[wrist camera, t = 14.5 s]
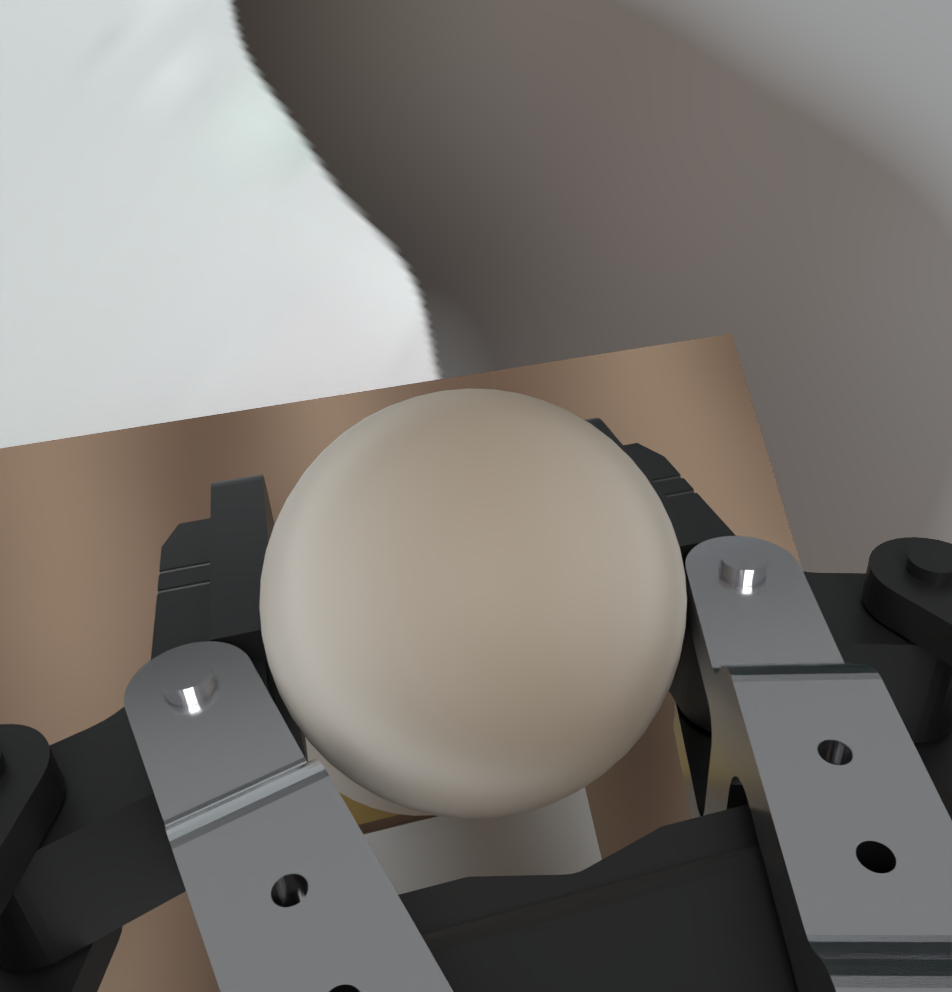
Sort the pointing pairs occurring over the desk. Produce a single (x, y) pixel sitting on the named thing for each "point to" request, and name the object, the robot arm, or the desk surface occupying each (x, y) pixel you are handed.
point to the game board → (282, 460)
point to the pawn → (472, 605)
